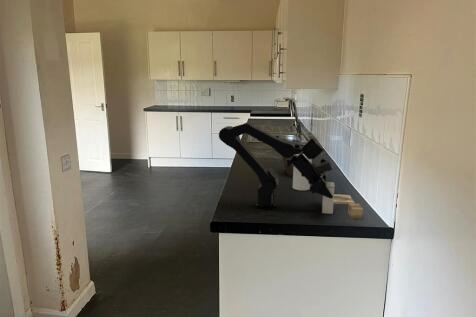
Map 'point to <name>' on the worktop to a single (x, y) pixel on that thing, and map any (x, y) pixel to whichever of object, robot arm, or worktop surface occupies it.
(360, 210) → the oak block
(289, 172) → the plant pot
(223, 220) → the worktop surface
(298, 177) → the cup
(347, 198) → the trivet
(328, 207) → the tea caddy
